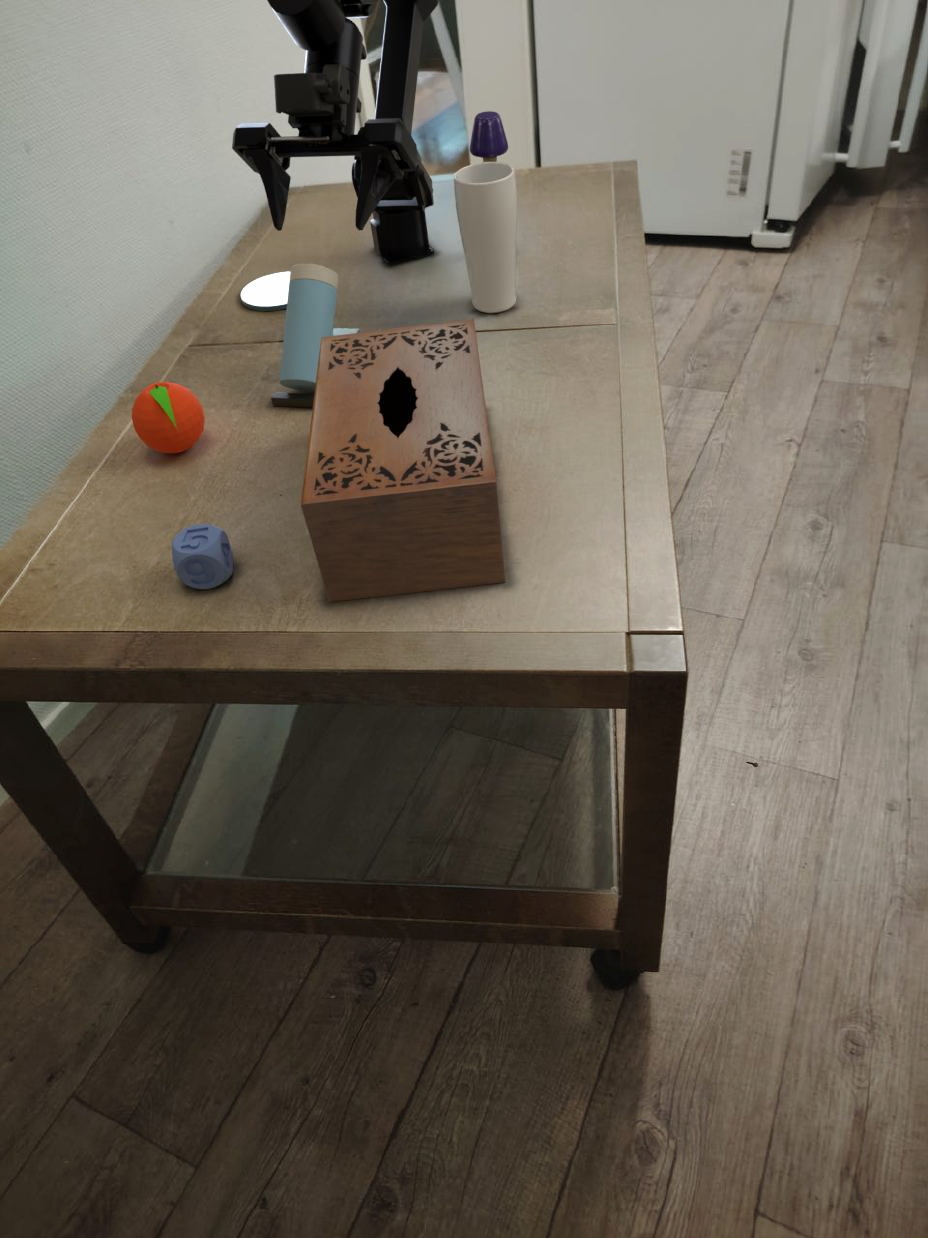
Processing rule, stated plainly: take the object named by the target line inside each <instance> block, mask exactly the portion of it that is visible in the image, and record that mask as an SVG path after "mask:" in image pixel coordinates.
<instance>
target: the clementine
mask: <svg viewBox="0 0 928 1238" xmlns="http://www.w3.org/2000/svg"><path fill="white" fill-rule="evenodd" d="M205 419H206V418H205V413H204V409H203V406H202V404H201V402H200V400H199V398H198V397H197V396H196V395H195V394H194V393H193V392H192V391H191V390H190V389H189V388H187V387H185V386H183V385H181V384H178V383H174V382H169V381H160V382H155V383H152V384H149V385H148V386H146V387H145V388H144V389H142V391H141V392H140V393H139V394H138V395H137V397H135V399H134V403H133V404H132V409H131V421H132V425H133V429H134V431H135V433H136V435H137V436H138V438H139V439H140V440H141V441H142V443H144V444H145V445H146V446H148V447H149V448H151V449H153V450H155V451H158V452H160V453H165V454H177V453H182V452H185V451H187V450H188V449H190V448H192V447H193V446H194V445H195V444H196V443H197V442H198V441H199V440H200V438H201V436H202V434H203V432H204V428H205V421H206V420H205Z"/></svg>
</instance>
